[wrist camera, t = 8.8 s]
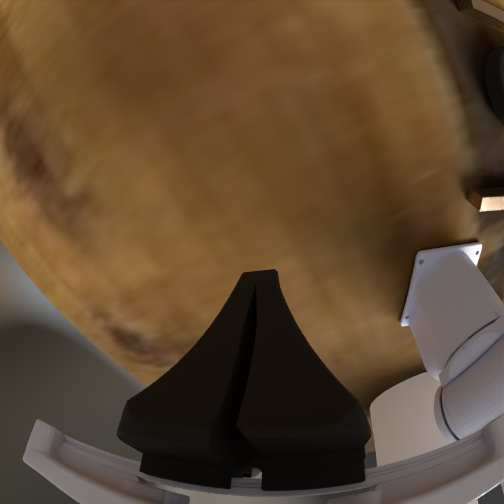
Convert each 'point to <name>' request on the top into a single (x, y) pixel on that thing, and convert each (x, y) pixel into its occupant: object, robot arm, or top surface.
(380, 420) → the cylinder
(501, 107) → the caster wheel
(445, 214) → the top surface
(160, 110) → the top surface
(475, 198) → the motor mount
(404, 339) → the top surface
